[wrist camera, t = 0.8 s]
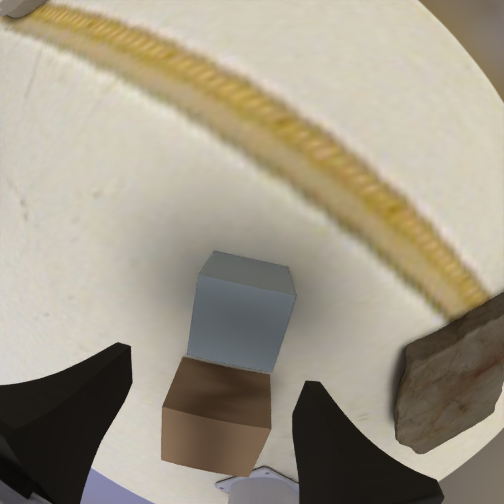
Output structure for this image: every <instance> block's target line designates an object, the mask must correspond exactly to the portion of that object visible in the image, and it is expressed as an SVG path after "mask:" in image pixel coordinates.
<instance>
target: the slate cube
mask: <svg viewBox="0 0 504 504" xmlns="http://www.w3.org/2000/svg"><path fill="white" fill-rule="evenodd" d="M295 299H296V293H295V289H294V286H293V282H292V279H291V275H290V272H289V269H288V267H286V266H282V265H277V264H272V263H268V262H263V261H259V260H254V259H249V258H245V257H240V256H236V255H231V254H227V253H222V252H218V251H214V252H213V253H212V255H211V256H210V258H209V259H208V261H207V262H206V264H205V266H204V267H203V269H202V270H201V272H200V274H199V276H198V282H197V288H196V295H195V301H194V308H193V314H192V321H191V328H190V335H189V343H188V350H187V355H190V356H194V357H199V358H203V359H207V360H211V361H216V362H220V363H225V364H230V365H235V366H240V367H245V368H250V369H256V370H261V371H267V372H273V369H274V366H275V363H276V360H277V357H278V354H279V351H280V347H281V344H282V341H283V338H284V335H285V332H286V328H287V325H288V322H289V319H290V315H291V312H292V309H293V305H294V302H295Z"/></svg>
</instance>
